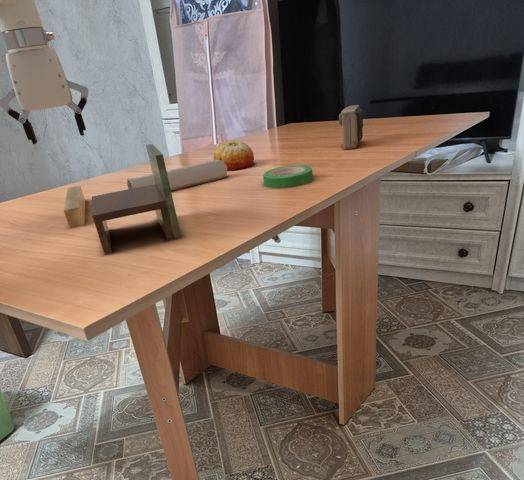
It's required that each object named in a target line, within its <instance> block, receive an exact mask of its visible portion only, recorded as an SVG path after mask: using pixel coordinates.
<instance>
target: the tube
mask: <svg viewBox="0 0 524 480" xmlns="http://www.w3.org/2000/svg"><path fill="white" fill-rule="evenodd" d="M166 171H167V175H168V180H169V184H170V189H171V192H174V191H178V190H182V189H186V188H190V187H194V186H197V185H202V184H207V183H211V182H214V181H219V180H223V179H225V178H226V177H227V176H228V171H227V166H226V164H225V163H224V162H223V161H221V160H214V159H213V160H209V161H205V162H200V163H196V164H195V163H194V164H191V165H185V166H181V167H178V168H172V169H168V170H166ZM153 184H155V181H154V177H153V173H150V174H145V175H142V176H141V175H140V176H136V177H132V178H130V177H127V179H126V186H127V189H133V188H138V187H143V186H148V185H153Z"/></svg>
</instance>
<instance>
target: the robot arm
mask: <svg viewBox="0 0 524 480" xmlns="http://www.w3.org/2000/svg"><path fill="white" fill-rule="evenodd" d="M42 23H43V22H42V19H41V17H40V14H39V10H38V7H37V3H36V2H35V0H0V33H1V36H2V39H3V41H4V45H5V47H6V50H7V53H5V54H4V55H5V61H6V65H7V70H8V73H9V78H10V81H11V84H12V87H13V88H12V89H11V90H10V91H9V92H8V93H6V94H5V95H4V96H3V97H2V98H1V99H0V107H1V108H2V109H3V111H4V112H6V113H7V115H9V116H10V117H11V118H13V119H15V121H18V122H19V123H20V124H21V125H22V128H23V130H24V133H25V136H26V139H27V140H28V141H31V143H32V145H36V144H37V143H38V139H37V135H36V134H35V130H34V128H33V125H32V122H31V121H30V120H29V116H30V114H31V112H34V111H41V110H47V109H53V108H58V107H59V108H60V107H64V106H67V107H68V108H69V109H71V110H72V111H73V113H74V115H73V116H74V120H75V123H76V126H77V130H78V133H79V135H80V136H81V137H82V136H85V132H84V131H87V128H86V125H85V122H84V118H83V114H82V112H83V110H84V109H85V107H86V105H87V102H88V96H89V87H87V86H84V85H82V84H79V83H76V82H73V81H71V80H68V78H67V76H66V74H65V71H64V68H63V66H62V63H61V61H60V58H59V56H58V54H57V52H56V50H55V48H54V47H50V42H51V41H54V40H56V39H55V36H54V32H53V31H48V30H46V29H44V26H43V24H42ZM71 90H74V91H77V92H79V93H80V100H79V101H78V104H77V103H75V102H74V101H73V94H72V91H71ZM15 98H16V100H17V102H18V105H19V107H20V109H21V112H18V111H17V110H15V109H14V108H13V107H12V106H11V105H10V103H11V102H12V101H13V100H14V99H15Z"/></svg>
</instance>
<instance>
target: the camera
mask: <svg viewBox="0 0 524 480" xmlns="http://www.w3.org/2000/svg"><path fill="white" fill-rule="evenodd" d="M363 111H364V110H363V108H361V107H360V105H359V104H353V105H349V106H347V107H344V108H343V109H342V110H341V113H339V115H338V120H339V121H338V122H339V125H340V126H341V132H342V148H343V150H353V149H356V148H357V147H358V146H359V144H360V142H361V141H362V140H363V136H364V133H363V128H364V115H363V114H364V113H363Z"/></svg>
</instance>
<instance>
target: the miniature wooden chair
mask: <svg viewBox="0 0 524 480" xmlns="http://www.w3.org/2000/svg"><path fill="white" fill-rule="evenodd" d="M145 148H146V151H147V156H148V159H149V164H150V168H151V169H150V170H151V172H152V173H151V174H153V177H154V181H155V184H153V185H148V186H143V187H138V188H133V189H128V188H127V189H124V190H119V191H113V192H108V193H102V194H97V195H92V196H91V217H92V219H93V223H94V225H95V229H96V232H97V235H98V238H99V242H100V244H101V248H102V250H103V253H104V255H105V256H107V255H111V254H113V251H112V244H111V237H110V229H109V226H108V223H107V221H111V220H115V219H119V218H125V217H129V216H134V215H139V214H144V213H148V212H153V211H154V213H155V215H156V220H157V222H158V224H159V226H160V228H161V230H162V232H163V234H164V236H165V238H166V240H167V241H168V242H169V241H170V242H171V241H174V240H178V239H182V234H181V229H180V225H179V224H180V223H179V220H178V216H177V215H178V214H177V212H176V207H175V202H174V198H173V194H172V193H173V192H172V191H171V189H170V184H169V180H168V175H167V171H168V170H167V166H166V162H165V158H164V154H163V153H162V152H161V151H160V150H159V149H158V148H157V147H156V146H155V145H154V144H153V143H149V144H148V143H147V144H146V145H145Z"/></svg>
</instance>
